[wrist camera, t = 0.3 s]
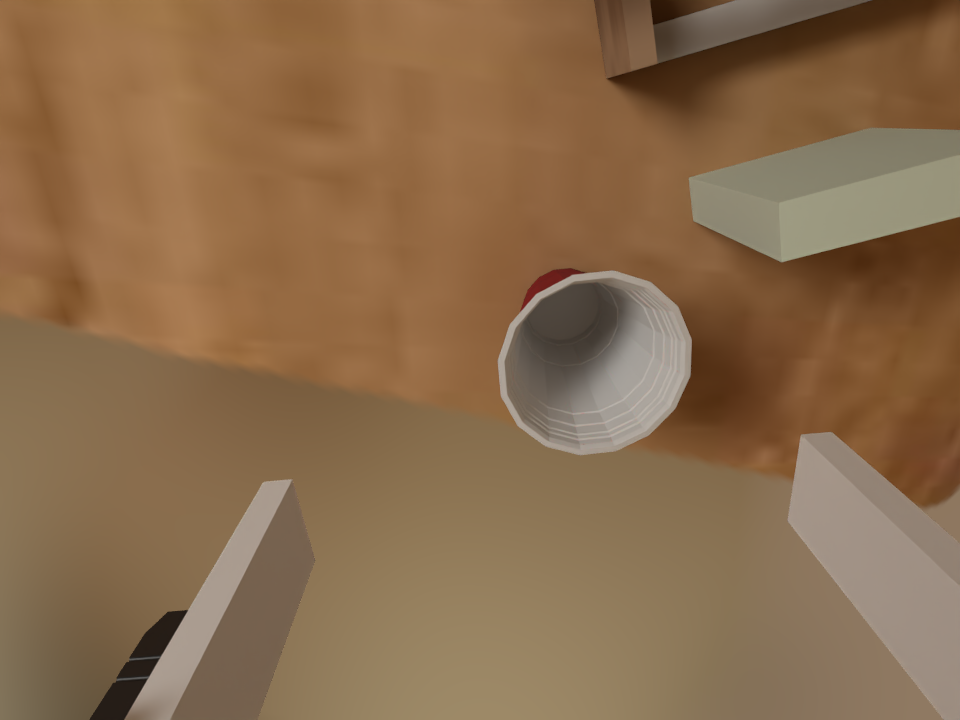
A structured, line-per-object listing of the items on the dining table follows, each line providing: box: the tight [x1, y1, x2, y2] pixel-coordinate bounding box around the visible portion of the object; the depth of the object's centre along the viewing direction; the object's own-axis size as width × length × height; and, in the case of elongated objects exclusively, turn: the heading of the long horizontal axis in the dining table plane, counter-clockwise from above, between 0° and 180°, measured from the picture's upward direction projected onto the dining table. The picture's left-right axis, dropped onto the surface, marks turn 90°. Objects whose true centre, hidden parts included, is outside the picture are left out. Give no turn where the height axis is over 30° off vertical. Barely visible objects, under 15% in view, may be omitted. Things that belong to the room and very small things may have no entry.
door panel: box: [689, 128, 960, 262], centre depth 32 cm, size 3×12×12 cm, turn 105°
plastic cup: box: [498, 268, 692, 455], centre depth 35 cm, size 11×11×12 cm
